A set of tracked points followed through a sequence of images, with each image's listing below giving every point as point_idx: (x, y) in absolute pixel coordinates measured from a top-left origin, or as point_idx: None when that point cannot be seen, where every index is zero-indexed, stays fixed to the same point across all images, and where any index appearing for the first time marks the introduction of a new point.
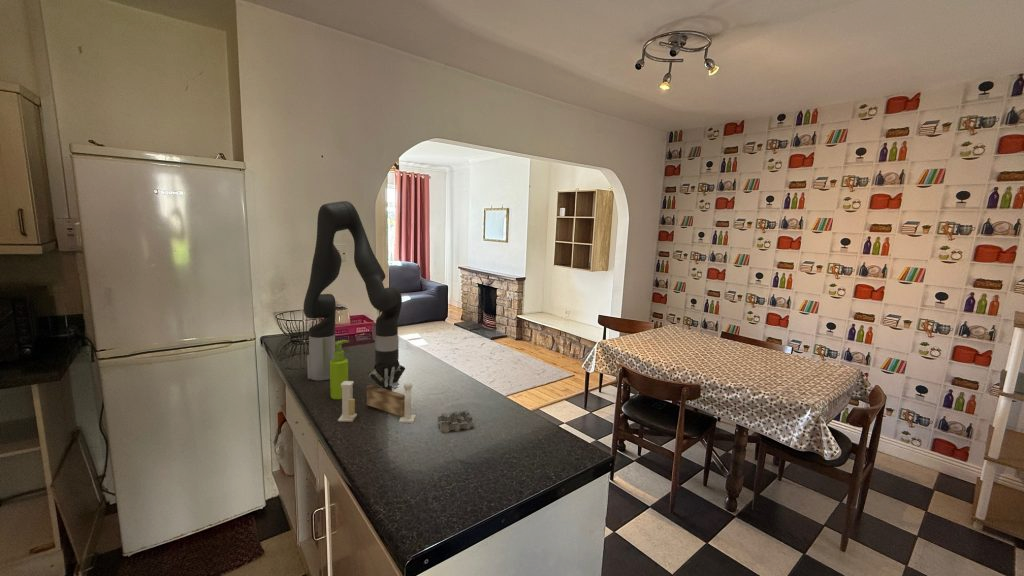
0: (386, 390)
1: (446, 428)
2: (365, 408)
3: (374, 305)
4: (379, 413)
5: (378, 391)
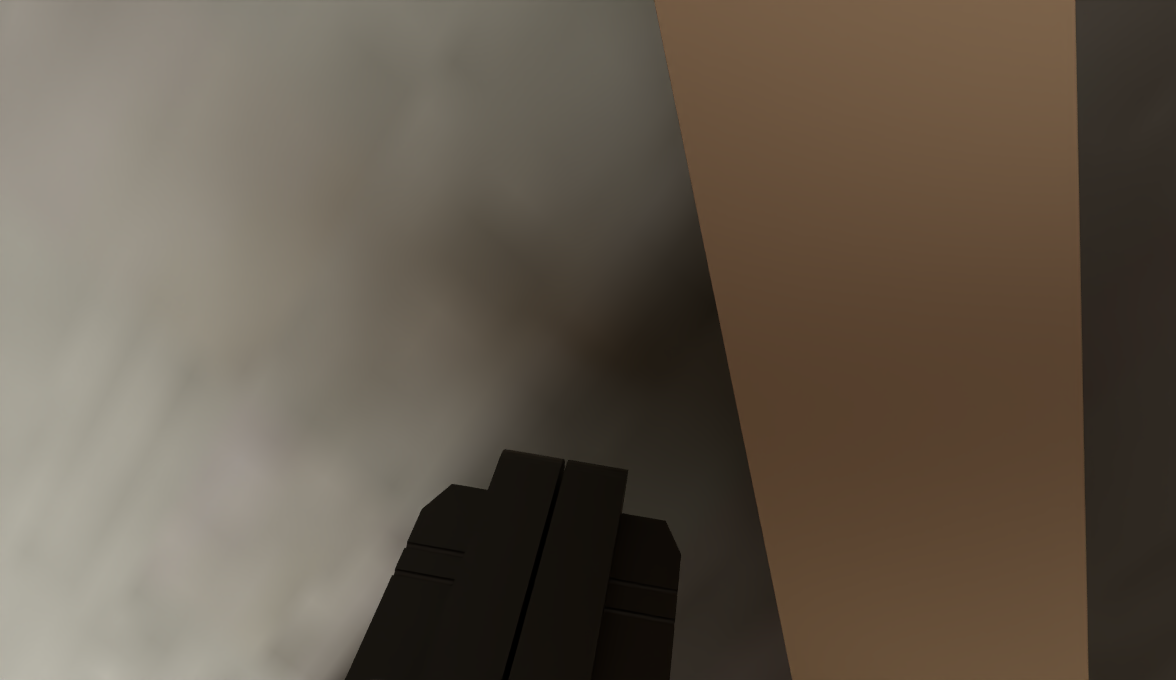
0: (860, 474)
1: None
2: None
3: None
4: None
5: (1069, 666)
